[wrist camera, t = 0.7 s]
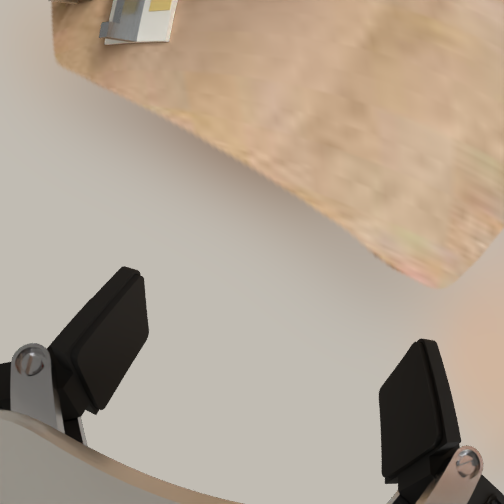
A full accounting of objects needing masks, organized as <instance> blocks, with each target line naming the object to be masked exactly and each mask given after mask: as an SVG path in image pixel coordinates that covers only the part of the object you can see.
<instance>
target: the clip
mask: <svg viewBox="0 0 504 504" xmlns="http://www.w3.org/2000/svg"><path fill="white" fill-rule="evenodd" d="M49 1H54V2H61V3H68V4H74V5H75V4H78V3H79V0H49Z"/></svg>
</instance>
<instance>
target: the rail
mask: <svg viewBox="0 0 504 504" xmlns="http://www.w3.org/2000/svg"><path fill="white" fill-rule="evenodd" d="M144 3H145V0H117V3H116V8H115V12H114V17H113V21H112V22H110V21H109V22H103V23H102V24H101V30H100V35H99V38H104V39H112V40H119V41H125V42H136V41H137V36H138V31H139V26H140V21H141V16H142V12H143V7H144Z"/></svg>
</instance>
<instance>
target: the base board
mask: <svg viewBox="0 0 504 504" xmlns="http://www.w3.org/2000/svg"><path fill="white" fill-rule="evenodd" d="M177 2H178V0H145V3H144V7H143V12H142V16H141V21H140V26H139V31H138V36H137V41H136V42H125V41H119V40H112V39H105V45H112V44H124V43H140V42H169V39H170V34H171V29H172V24H173V19H174V15H175V10H176V6H177ZM116 3H117V0H113V4H112V9H111V13H110V18H109V21H110V22H112V21H113V17H114V12H115V8H116Z"/></svg>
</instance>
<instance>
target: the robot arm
mask: <svg viewBox="0 0 504 504" xmlns="http://www.w3.org/2000/svg"><path fill="white" fill-rule="evenodd" d="M148 334H149V328H148V319H147V310H146V298H145V286H144V278H143V277H142V276H140V272H139V271H138V270H135V269H131V268H128V267H122V268H120V269H119V270H118V272H116V273H115V275H114V276H113V277H112V278H111V279H110V280H109V281H108V282H107V283H106V284H105V285H104V286H103V287H102V288H101V289H100V290H99V291H98V292H97V293H96V295H95V296H94V297H93V298H91V299H90V300H89V301H88V302H87V303H86V305H85V306H84V307H83V308H82V309H81V310H80V311H79V312H78V314H77V315H76V316H75V317H74V318H73V319H72V320H71V322H70V323H69V324H68V325H67V326H66V327H65V328H64V329H63V330H62V332H61V333H60V334H59V335H58V336H57V337H56V339H55V340H54V341H53V342H52V343H51V345H50V346H49V347H48V348H47V349H46V348H45V347H43V346H42V345H40V344H37V343H34V344H33V343H31V344H27V345H24V346H22V347H21V348H19V349H18V350H17V351H16V352H15V354H14V356H13V357H12V362H8V363H3V364H0V504H243V503H238V502H233V501H229V500H225V499H221V498H217V497H213V496H210V495H206V494H202V493H199V492H196V491H192V490H189V489H186V488H183V487H180V486H177V485H174V484H171V483H168V482H165V481H163V480H160V479H157V478H155V477H152V476H149V475H147V474H145V473H142V472H140V471H138V470H135V469H133V468H131V467H128V466H126V465H124V464H122V463H120V462H117V461H115V460H113V459H111V458H109V457H107V456H105V455H103V454H101V453H99V452H97V451H95V450H93V449H91V448H89V447H88V446H87V442H86V438H85V433H84V429H83V424H82V420H81V416H82V414H83V413H84V411H85V410H87V411H89V412H91V413H93V414H95V415H96V414H97V412H98V411H99V409H100V410H103V409H104V408H105V407H106V405H107V404H108V402H109V400H110V399H111V397H112V395H113V393H114V392H115V390H116V389H117V387H118V385H119V384H120V382H121V380H122V379H123V377H124V375H125V374H126V372H127V371H128V369H129V367H130V366H131V364H132V362H133V361H134V359H135V358H136V356H137V354H138V353H139V351H140V350H141V348H142V346H143V345H144V343H145V342H146V340H147V338H148ZM379 406H380V421H381V447H382V475H383V477H385V484H396V483H398V491H397V492H396V493H395V494H394V496H393V497H392V498H391V499H390V500H389V502H388V503H387V504H504V495H503V494H502V493H501V492H500V491H499V490H498V489H497V488H496V487H495V486H493V485H492V484H491V483H490V482H489V481H488V480H487V479H486V478H485V477H484V476H483V475H482V471H483V460H482V456H481V455H480V453H479V451H478V450H477V449H476V448H474V447H472V446H467V445H466V446H462V447H459V443H460V442H461V438H460V432H459V427H458V422H457V417H456V413H455V408H454V403H453V399H452V395H451V391H450V387H449V383H448V380H447V376H446V373H445V369H444V365H443V362H442V358H441V355H440V352H439V349H438V346H437V343H436V342H435V341H433V340H427V339H419V340H418V341H417V342H414V343H413V344H412V346H411V347H410V349H409V350H408V351H407V353H406V355H405V356H404V357H403V359H402V360H401V361H400V363H399V364H398V365H397V367H396V368H395V370H394V371H393V372H392V374H391V375H390V376H389V378H388V379H387V380H386V381H385V383H384V384H383V385H382V387H381V388H380V391H379Z"/></svg>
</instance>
